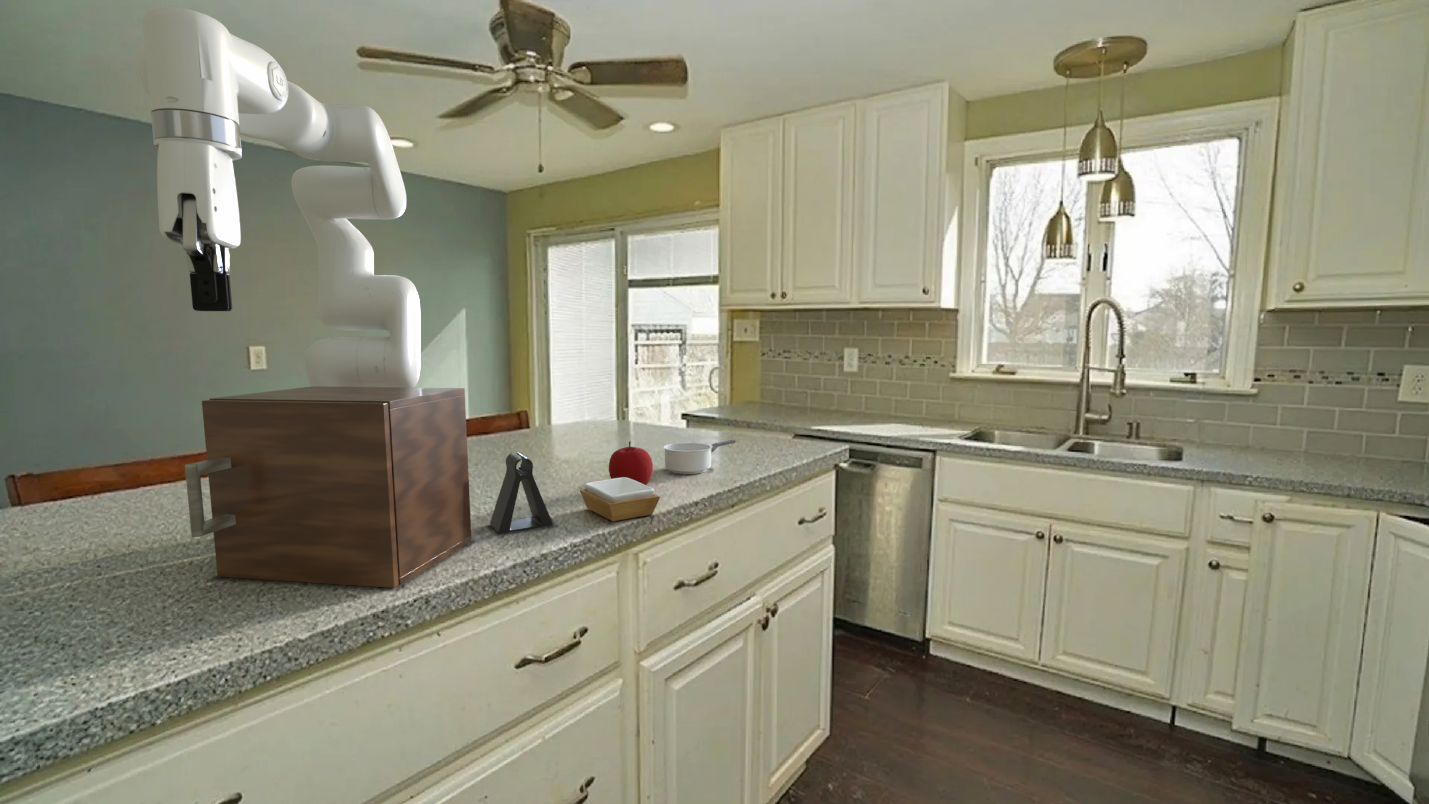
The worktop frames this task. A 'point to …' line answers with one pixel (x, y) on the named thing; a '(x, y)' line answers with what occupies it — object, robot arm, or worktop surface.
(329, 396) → the cupboard
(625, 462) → the apple
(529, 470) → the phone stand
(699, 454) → the saucepan
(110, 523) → the worktop surface
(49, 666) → the worktop surface
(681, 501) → the worktop surface
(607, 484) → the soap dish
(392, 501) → the cupboard door
